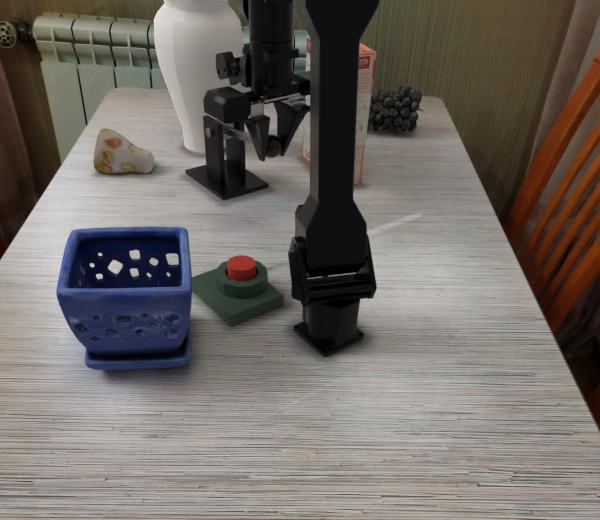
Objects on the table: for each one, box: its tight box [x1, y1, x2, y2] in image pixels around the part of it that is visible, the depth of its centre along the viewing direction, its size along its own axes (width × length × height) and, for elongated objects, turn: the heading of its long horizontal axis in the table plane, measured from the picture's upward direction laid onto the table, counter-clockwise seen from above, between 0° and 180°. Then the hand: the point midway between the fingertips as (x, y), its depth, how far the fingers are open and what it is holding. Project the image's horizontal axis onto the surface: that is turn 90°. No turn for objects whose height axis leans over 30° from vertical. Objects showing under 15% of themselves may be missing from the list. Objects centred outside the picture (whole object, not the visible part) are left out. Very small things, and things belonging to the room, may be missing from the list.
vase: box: [153, 0, 244, 154], centre depth 103 cm, size 15×15×29 cm
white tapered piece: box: [92, 127, 155, 175], centre depth 102 cm, size 8×10×10 cm
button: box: [226, 254, 256, 281], centre depth 76 cm, size 4×4×2 cm
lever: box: [217, 120, 282, 159], centre depth 92 cm, size 16×3×3 cm, turn 37°
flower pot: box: [55, 226, 193, 371], centre depth 67 cm, size 13×13×12 cm
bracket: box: [184, 115, 269, 201], centre depth 99 cm, size 12×9×11 cm
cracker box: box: [301, 32, 377, 185], centre depth 100 cm, size 14×6×21 cm, turn 22°
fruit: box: [367, 85, 424, 135], centre depth 120 cm, size 9×8×15 cm
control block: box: [192, 259, 284, 327], centre depth 78 cm, size 10×8×4 cm
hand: (271, 157), depth 89 cm, fingers closed on lever, 3 cm apart
